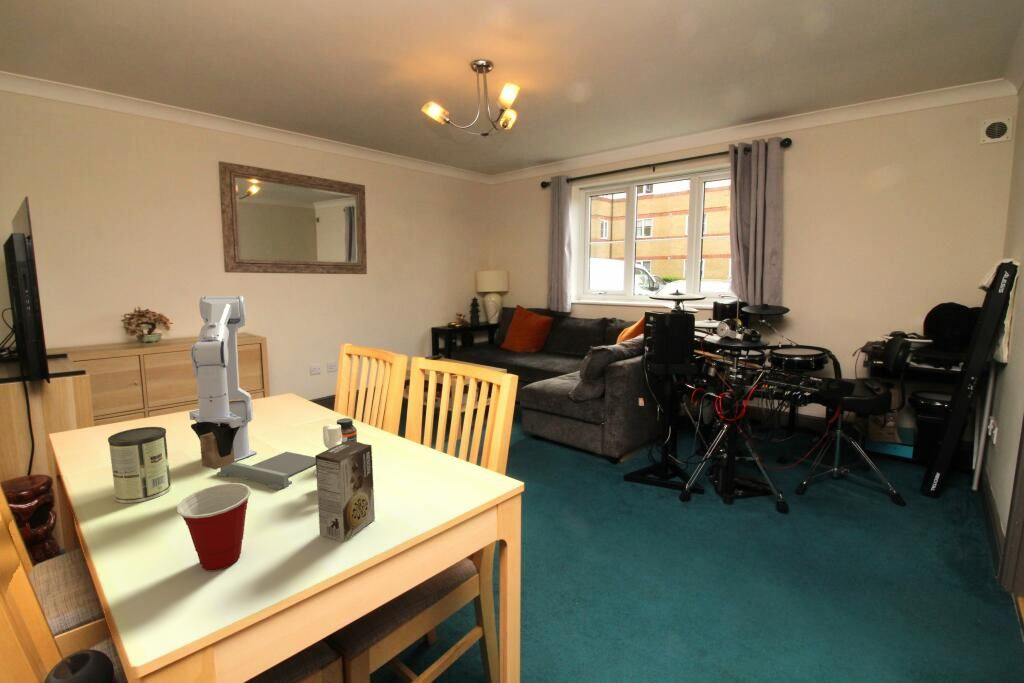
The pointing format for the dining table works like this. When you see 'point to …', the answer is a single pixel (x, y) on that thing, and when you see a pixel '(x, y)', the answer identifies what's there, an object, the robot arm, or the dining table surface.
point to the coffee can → (139, 464)
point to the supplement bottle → (347, 430)
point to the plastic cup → (216, 523)
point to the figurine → (332, 435)
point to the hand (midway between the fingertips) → (217, 453)
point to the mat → (288, 463)
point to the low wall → (256, 475)
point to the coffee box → (345, 489)
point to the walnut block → (213, 453)
